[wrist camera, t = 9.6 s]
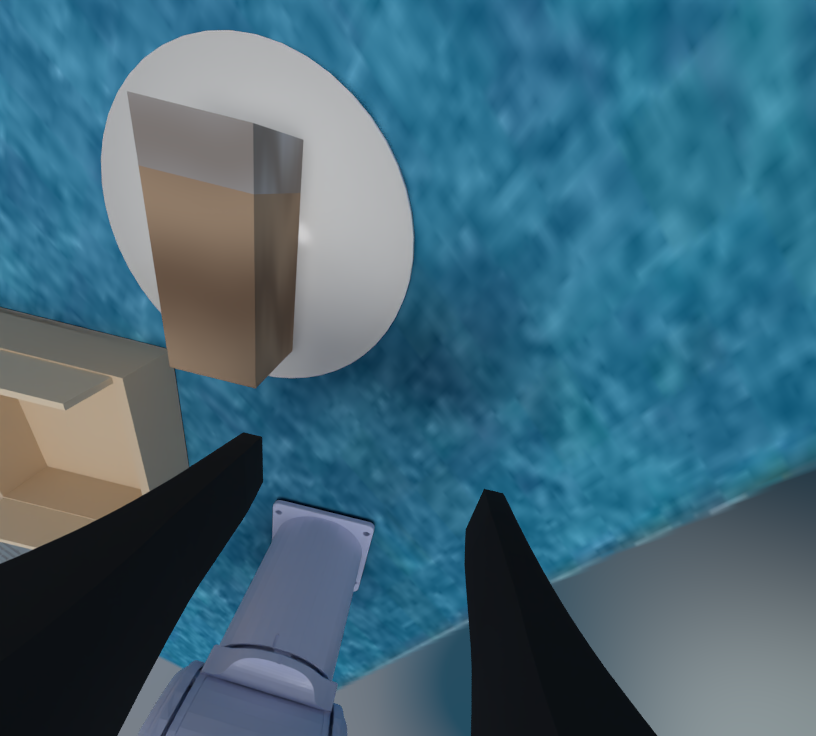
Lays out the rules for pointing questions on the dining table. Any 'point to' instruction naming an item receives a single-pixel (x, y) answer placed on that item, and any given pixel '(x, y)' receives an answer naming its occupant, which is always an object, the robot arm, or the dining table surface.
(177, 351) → the brown rectangular block
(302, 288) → the plate
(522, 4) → the dining table surface
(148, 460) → the wooden tray
